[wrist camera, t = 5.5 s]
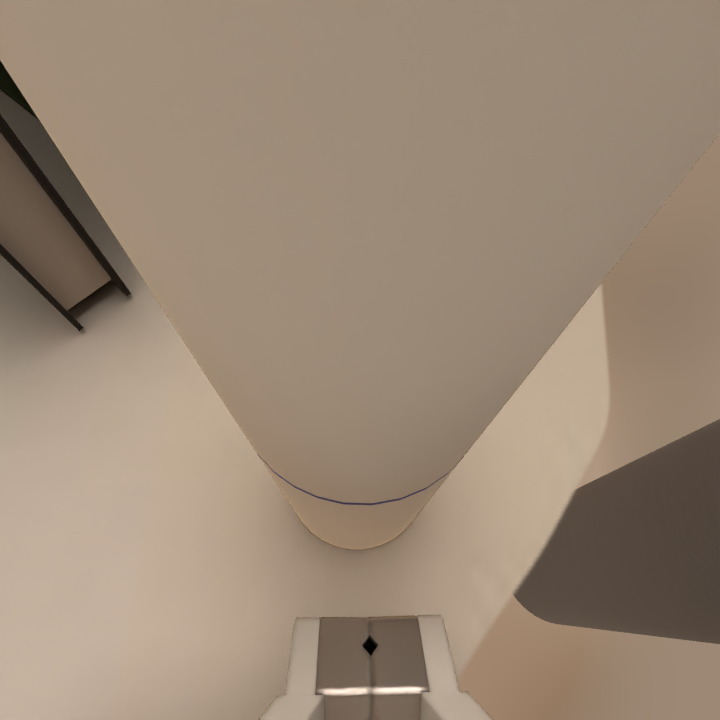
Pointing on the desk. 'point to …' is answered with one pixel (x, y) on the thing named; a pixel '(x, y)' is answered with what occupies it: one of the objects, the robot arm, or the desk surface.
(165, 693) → the desk surface
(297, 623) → the robot arm
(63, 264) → the ring binders
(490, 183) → the cylindrical container
